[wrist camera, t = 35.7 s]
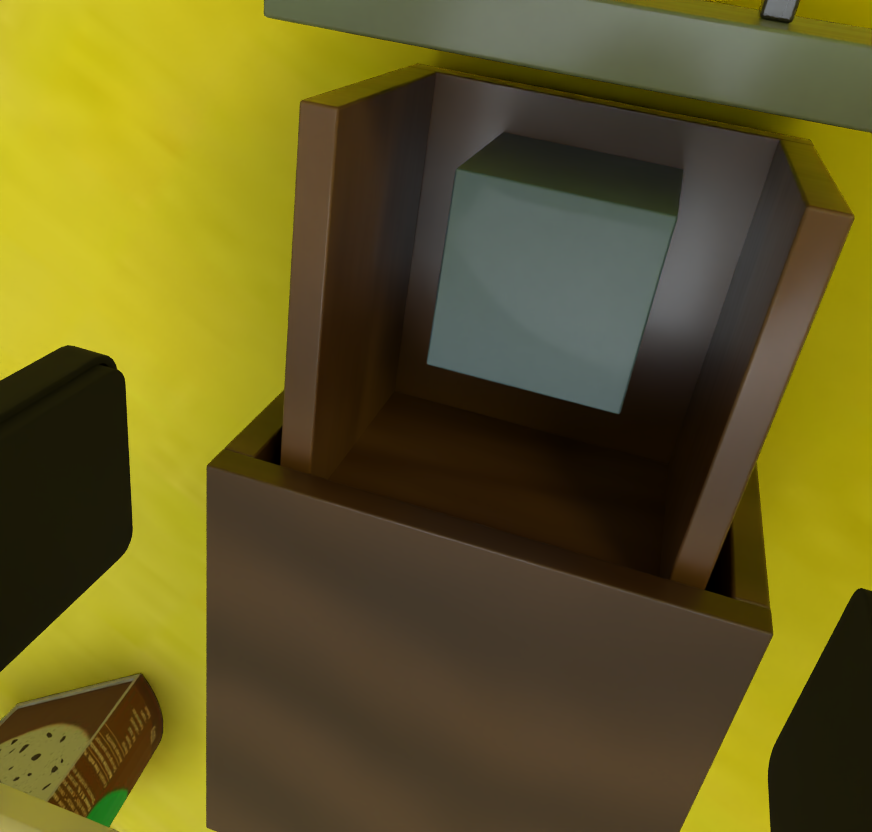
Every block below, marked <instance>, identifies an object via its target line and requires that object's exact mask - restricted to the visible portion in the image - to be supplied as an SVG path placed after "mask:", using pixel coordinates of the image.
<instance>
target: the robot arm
mask: <svg viewBox="0 0 872 832" xmlns="http://www.w3.org/2000/svg"><path fill="white" fill-rule="evenodd" d="M132 531H133V526H132V506H131V486H130V466H129V447H128V427H127V407H126V387H125V379H124V376H123V374H122V372H120V371H119V370H117V367H116V364H115V362H114V361H113V359H111V358H110V357H109V356H106V355H103V354H99V353H96V352H93V351H89V350H86V349H82V348H79V347H75V346H69V345H67V346H64V347H61V348H59V349H57V350H55V351H54V352H52V353H50V354H48V355H46V356H44V357H43V358H41V359H39V360H37V361H35V362H34V363H32V364H30V365H28V366H26V367H25V368H23V369H21V370H19V371H17V372H15V373H14V374H12V375H10V376H8V377H6V378H5V379H3V380H1V381H0V672H1V671H2V670H3V669H4V668H5V667H6V666H7V665H8V664H9V663H10V662H11V661H12V660H13V659H14V658H16V657H17V656H18V655H19V654H20V653H21V652H22V651H23V650H24V649H25V648H26V647H27V646H28V645H29V644H30V643H31V642H32V641H33V640H34V639H35V638H37V637H38V636H39V635H40V634H41V633H42V632H43V631H44V630H45V629H46V628H47V627H48V626H49V625H50V624H51V623H52V622H53V621H54V620H55V619H56V618H58V617H59V616H60V615H61V614H62V613H63V612H64V611H65V610H66V609H67V608H68V607H69V606H70V605H71V604H72V603H73V602H74V601H75V600H76V599H77V598H79V597H80V596H81V595H82V594H83V593H84V592H85V591H86V590H87V589H88V588H89V587H90V586H91V585H92V584H93V583H94V582H95V581H96V580H97V579H99V578H100V577H101V576H102V575H103V574H104V573H105V572H106V571H107V570H108V569H109V568H110V567H111V566H112V565H113V564H114V563H115V562H116V561H117V560H118V559H120V558H121V556H122V555H123V554H124V553H125V551H126V550H127V548H128V546H129V544H130V541H131V538H132ZM768 789H769V808H770V827H771V832H872V591H869V590H866V589H863V588H860V589H857V590H856V591H855V592H854V594H853V595H852V597H851V599H850V601H849V603H848V604H847V606H846V608H845V610H844V612H843V614H842V616H841V618H840V620H839V622H838V624H837V626H836V627H835V629H834V631H833V633H832V635H831V637H830V639H829V641H828V643H827V645H826V647H825V649H824V651H823V652H822V654H821V656H820V658H819V660H818V662H817V664H816V666H815V668H814V670H813V672H812V674H811V675H810V677H809V679H808V681H807V683H806V685H805V687H804V689H803V691H802V693H801V695H800V697H799V699H798V700H797V702H796V704H795V706H794V708H793V710H792V712H791V714H790V716H789V718H788V720H787V722H786V723H785V725H784V727H783V729H782V731H781V733H780V735H779V737H778V739H777V741H776V743H775V745H774V747H773V750H772V753H771V757H770V761H769V768H768ZM0 832H119V831H116V830H114V829H111V828H109V827H107V826H104V825H102V824H99V823H97V822H94V821H92V820H90V819H87V818H85V817H82V816H80V815H78V814H75V813H73V812H70V811H68V810H65V809H63V808H61V807H58V806H56V805H53V804H51V803H48V802H46V801H44V800H41V799H39V798H36V797H34V796H31V795H29V794H26V793H24V792H21V791H19V790H17V789H14V788H12V787H9V786H7V785H4V784H2V783H0Z"/></svg>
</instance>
